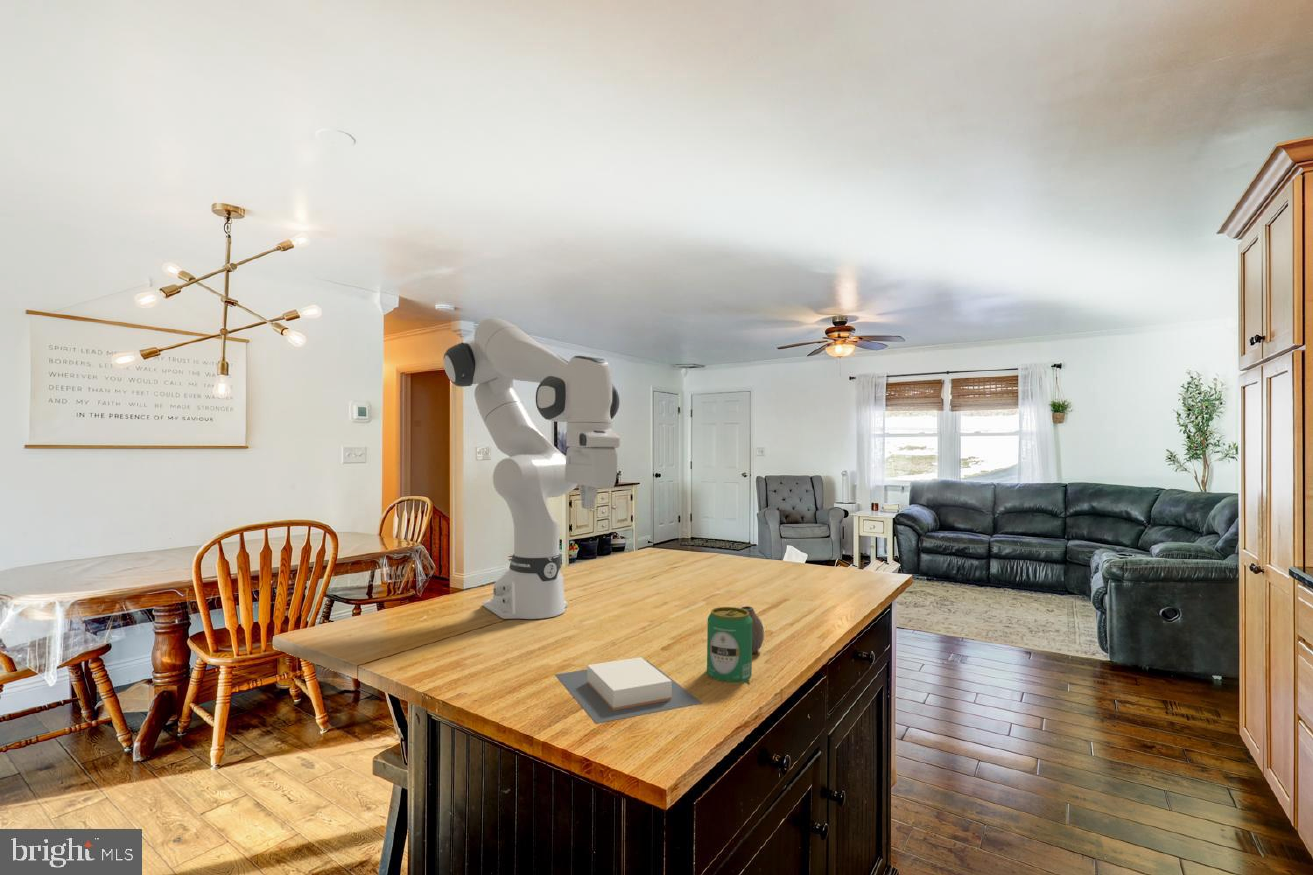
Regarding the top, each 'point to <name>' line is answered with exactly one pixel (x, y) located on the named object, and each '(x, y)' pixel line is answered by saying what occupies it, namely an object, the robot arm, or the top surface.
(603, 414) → the robot arm
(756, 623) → the vase
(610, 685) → the tile
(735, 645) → the beverage can
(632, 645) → the top surface
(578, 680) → the mat
